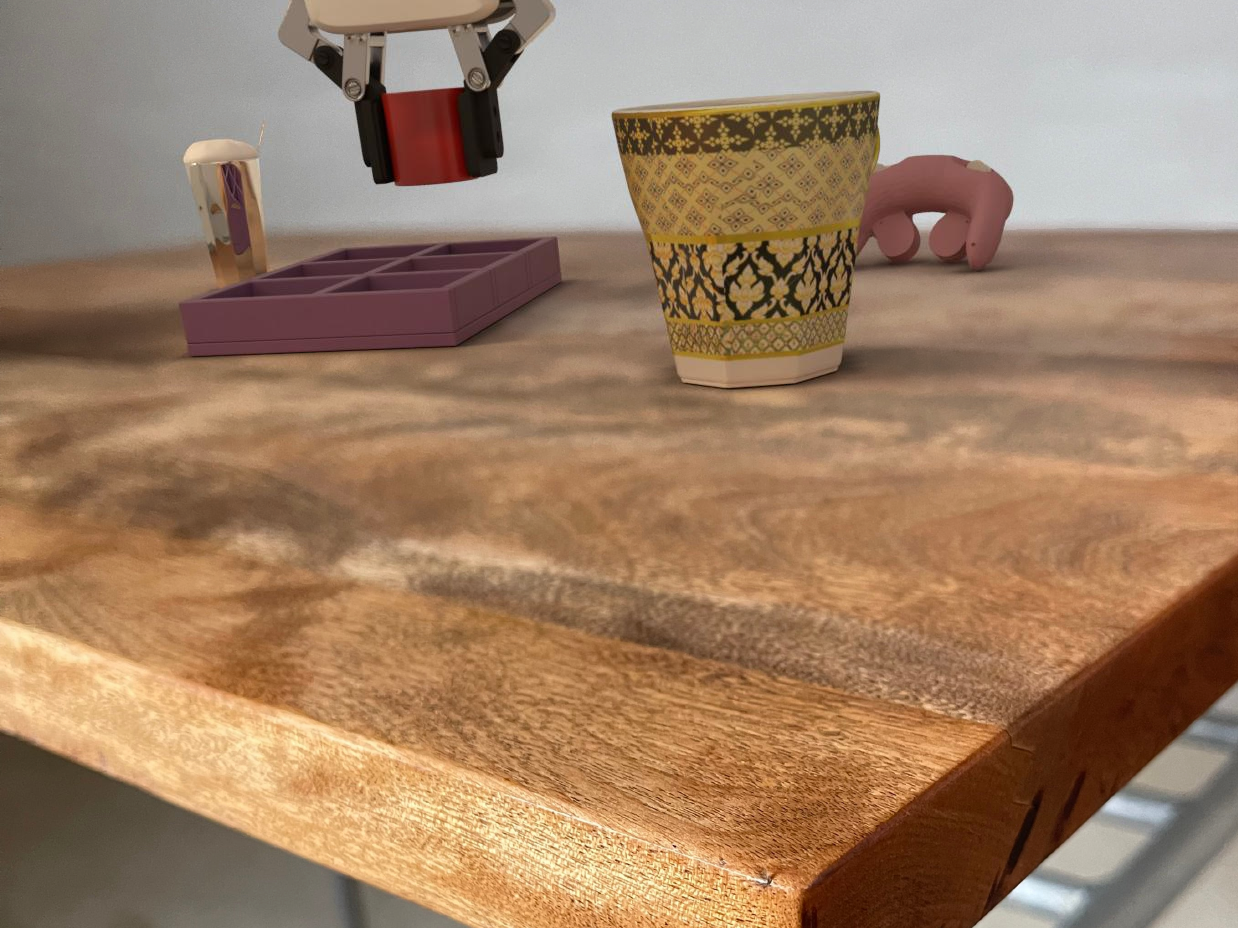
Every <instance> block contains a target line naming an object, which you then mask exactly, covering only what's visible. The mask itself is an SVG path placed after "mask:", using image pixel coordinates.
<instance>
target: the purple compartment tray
mask: <svg viewBox="0 0 1238 928" xmlns="http://www.w3.org/2000/svg"><path fill="white" fill-rule="evenodd" d="M560 260H561V259H560V249H559V241H558V236H541V237H539V236H538V237H521V238H520V237H519V238H504V239H503V238H502V239H501V238H500V239H483V240H465V241H462V240H461V241H448V242H447V241H443V242H429V243H428V242H426V243H408V244H407V243H406V244H390V245H373V246H372V245H371V246H351V247H339V248H337V249H334V250H331V251H327V252H325V253H322V254H319V255H315V256H313V257H309V258H307V259H304V260H301V261H298V262H294V263H292V264H288V265H286V266H283V267H280V268H276V269H274V270H271V271H270V272H267V273H264V274H261V275H258V276H255V277H252V278H249V279H246V280H244V281H241V282H238V283H235V284H232V285H229V286H226V287H223V288H220V289H219V288H217V289H213V290H211V291H208V292H205V293H202V294H199V295H196V296H193V297H190V298H187V299H184V300H181V301H179V302H178V307H179V313H180V316H181V322H182V327H183V332H184V336H185V340H186V347H187V352H188V356H189V357H207V356H209V357H210V356H211V357H212V356H233V355H235V356H236V355H238V356H239V355H257V354H258V355H261V354H284V353H285V354H286V353H309V352H310V353H311V352H312V353H313V352H336V351H358V350H359V351H360V350H362V351H363V350H385V349H387V350H389V349H408V348H410V349H411V348H435V347H436V348H437V347H457V346H458V345H460V344H462V343H463V342H465V341H467V340H468V339H470V338H472V337H473V336H475V335H476V334H478V333H479V332H482V331H484V329H486V328H487V327H489V326H491V325H492V324H493V325H494V323H496V322H497V321H499V320H501V319H503V318H504V317H506V316H508V315H510V314H511V313H512V312H514V311H515V310H517V309H519V308H520V307H522V306H524V305H526V304H527V303H529V302H531V301H532V300H534V299H535V298H537V297H538V296H540V295H541V294H543V293H545V292H547V291H549V289H552V288H553V287H555V286H557V285H559V284H560V283H562V282H563V278H562V271H561V261H560Z"/></svg>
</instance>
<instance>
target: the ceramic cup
mask: <svg viewBox="0 0 1238 928" xmlns="http://www.w3.org/2000/svg"><path fill="white" fill-rule="evenodd" d="M880 103H881V93H880V92H879V91H876V90H846V91H842V90H841V91H822V92H806V93H792V94H791V93H789V94H788V93H787V94H773V95H757V96H745V97H732V98H730V97H729V98H718V99H707V100H706V99H705V100H694V101H681V102H672V103H671V102H670V103H660V104H650V105H640V106H633V107H632V106H631V107H623V108H617V109H614V110H613V111H611V114H610V115H611V120H612V125H613V130H614V135H615V138H616V139H615V140H616V144H617V148H618V149H617V150H618V153H619V158H620V161H621V165H622V169H623V173H624V177H625V181H626V184H627V185H626V186H627V190H628V193H629V196H630V199H631V202H632V205H633V208H634V212H635V213H636V214H635V215H636V216H637V219H638V222H639V225H640V228H641V230H642V233H643V235H644V238H645V242H646V246H647V250H648V254H649V258H650V261H651V267H652V271H653V275H654V279H655V283H656V287H657V291H658V296H659V299H660V304H661V308H662V312H663V317H664V321H665V324H666V329H667V335H668V340H669V344H670V350H671V352H672V357H673V360H674V364H675V368H676V373H677V376H678V377H679V378H680V380H681V382H682V383H685V384H693V385H699V386H708V387H714V388H715V387H716V388H721V389H722V388H724V389H731V388H746V387H760V386H761V387H763V386H776V385H786V384H787V385H789V384H797V383H800V382H804V381H807V380H811V379H814V378H818V377H821V376H824V375H827V374H830V373H834V372H836V371H838V369H839V366H840V365H841V363H842V359H843V352H844V351H843V350H844V345H845V339H846V335H847V334H846V333H847V326H848V325H847V323H848V315H849V314H848V313H849V307H850V300H851V293H852V286H853V279H854V274H855V273H854V271H855V267H856V259H857V257H856V252H857V244H858V236H859V228H860V222H861V218H862V214H863V209H864V205H865V201H866V196H867V191H868V187H869V182H870V177H871V175H872V174H873V172H874V170H875V167H876V165H877V163H878V160H879V158H880V152H881V135H880V129H879V128H880V127H879V124H878V123H879V115H880V113H879V112H880V105H881V104H880Z"/></svg>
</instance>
